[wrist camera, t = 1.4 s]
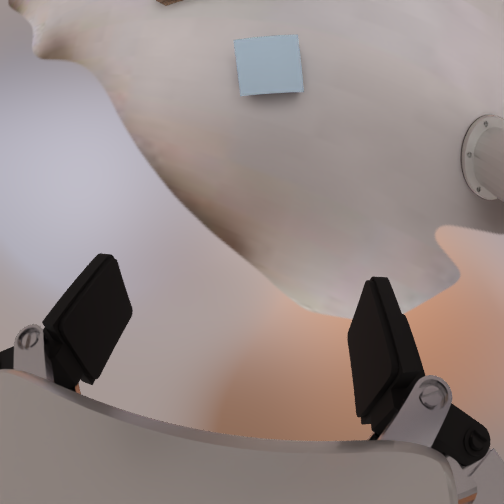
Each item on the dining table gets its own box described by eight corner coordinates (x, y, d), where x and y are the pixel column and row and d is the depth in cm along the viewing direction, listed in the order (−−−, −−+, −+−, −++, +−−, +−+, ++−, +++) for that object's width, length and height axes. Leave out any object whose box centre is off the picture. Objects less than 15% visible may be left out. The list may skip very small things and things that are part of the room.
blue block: (295, 47, 25) (297, 34, 18) (299, 91, 28) (303, 91, 21) (246, 51, 25) (233, 40, 19) (251, 94, 28) (240, 96, 22)
